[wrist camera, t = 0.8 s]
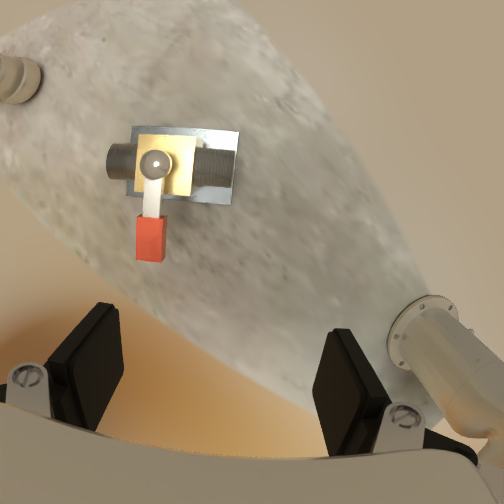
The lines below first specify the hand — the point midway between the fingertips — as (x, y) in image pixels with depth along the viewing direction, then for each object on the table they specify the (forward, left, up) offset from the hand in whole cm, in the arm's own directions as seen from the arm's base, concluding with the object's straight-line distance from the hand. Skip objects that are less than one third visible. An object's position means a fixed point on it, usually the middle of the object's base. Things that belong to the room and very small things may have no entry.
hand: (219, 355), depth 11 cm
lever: (+7, -3, -16) cm, 18 cm away
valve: (+7, -6, -26) cm, 27 cm away
